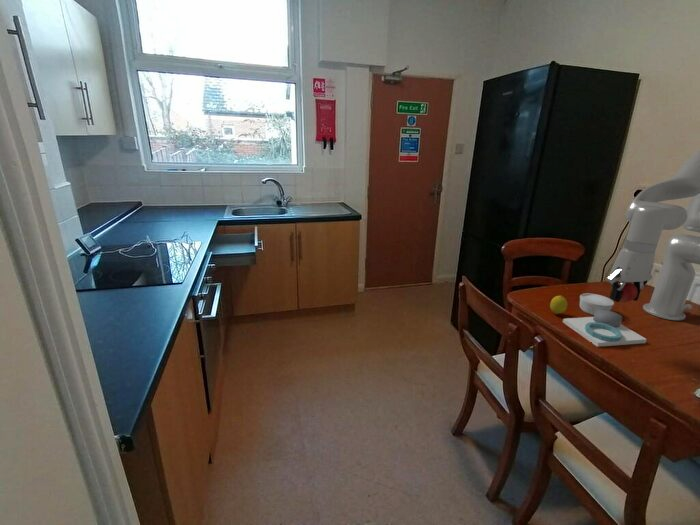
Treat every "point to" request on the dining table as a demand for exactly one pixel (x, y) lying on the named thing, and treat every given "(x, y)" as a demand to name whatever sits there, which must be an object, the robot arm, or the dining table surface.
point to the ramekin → (594, 303)
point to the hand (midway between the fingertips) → (623, 299)
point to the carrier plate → (604, 329)
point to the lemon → (558, 304)
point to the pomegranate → (628, 292)
